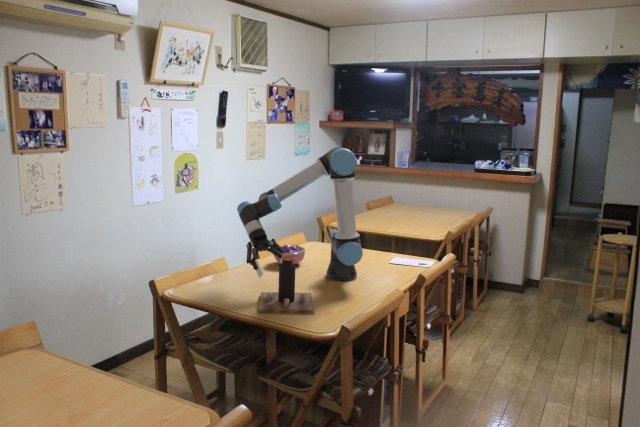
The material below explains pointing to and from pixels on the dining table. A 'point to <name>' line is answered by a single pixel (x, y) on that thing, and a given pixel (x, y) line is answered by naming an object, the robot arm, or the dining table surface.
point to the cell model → (294, 250)
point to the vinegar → (286, 278)
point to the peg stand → (285, 303)
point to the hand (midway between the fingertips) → (274, 273)
